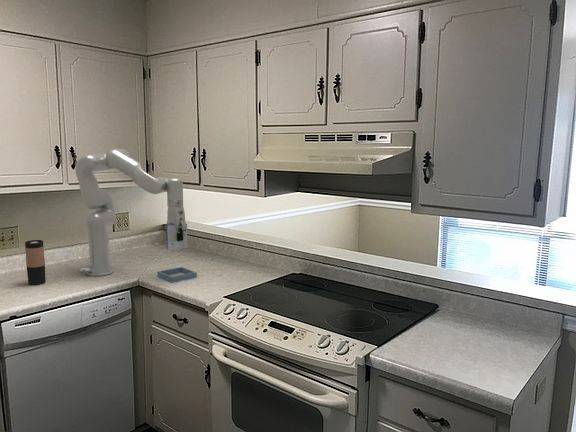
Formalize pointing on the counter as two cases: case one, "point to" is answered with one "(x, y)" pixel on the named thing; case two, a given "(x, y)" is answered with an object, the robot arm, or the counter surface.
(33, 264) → the travel mug
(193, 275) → the frame
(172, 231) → the ink cartridge box
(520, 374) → the counter surface
